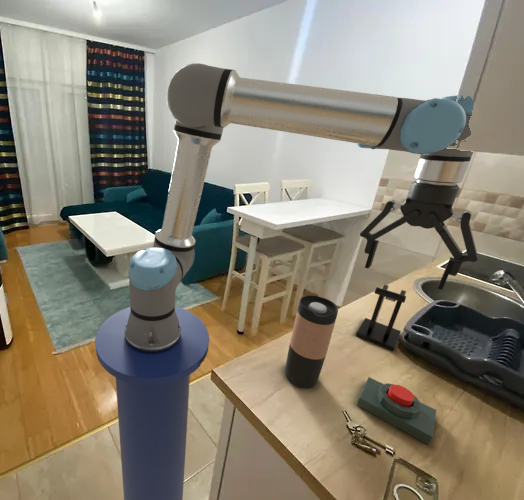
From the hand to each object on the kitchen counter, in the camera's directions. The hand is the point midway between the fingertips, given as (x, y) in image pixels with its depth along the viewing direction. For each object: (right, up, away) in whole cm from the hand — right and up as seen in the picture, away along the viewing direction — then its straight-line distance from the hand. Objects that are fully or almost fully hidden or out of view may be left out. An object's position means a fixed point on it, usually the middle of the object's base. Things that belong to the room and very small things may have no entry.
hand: (401, 276), depth 66 cm
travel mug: (-22, -24, +2) cm, 33 cm away
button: (-6, -24, -7) cm, 26 cm away
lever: (+4, -7, +9) cm, 12 cm away
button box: (-6, -28, -6) cm, 29 cm away
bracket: (+7, -19, +17) cm, 26 cm away
